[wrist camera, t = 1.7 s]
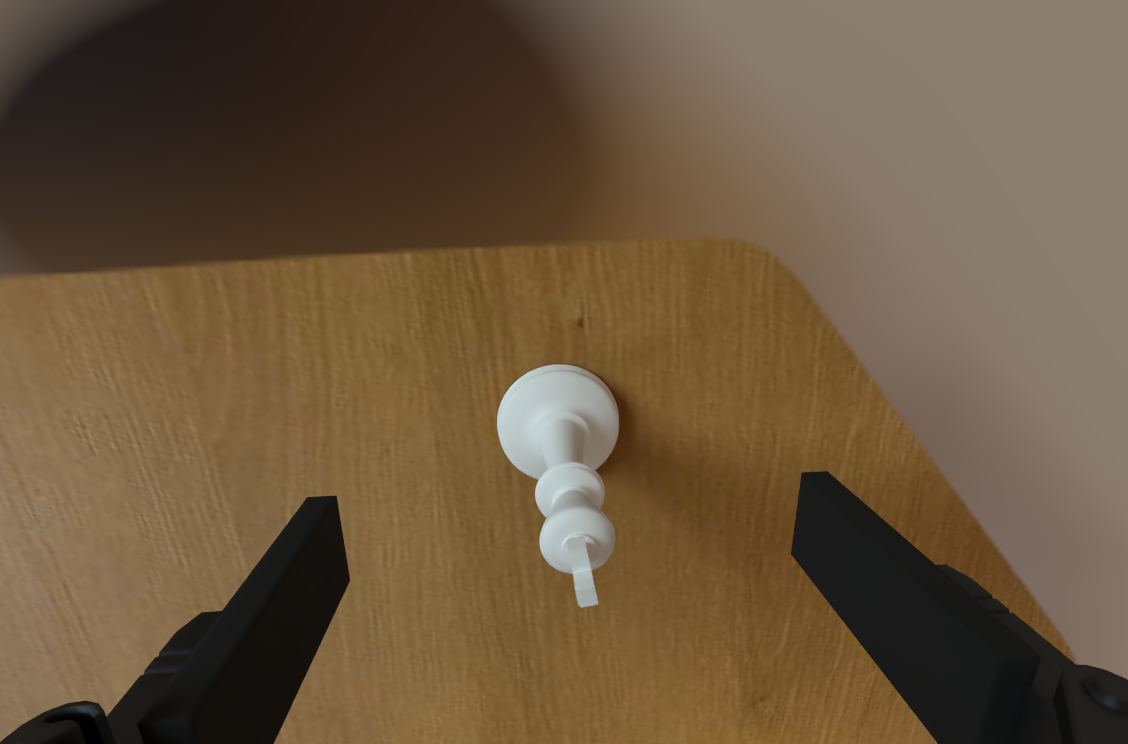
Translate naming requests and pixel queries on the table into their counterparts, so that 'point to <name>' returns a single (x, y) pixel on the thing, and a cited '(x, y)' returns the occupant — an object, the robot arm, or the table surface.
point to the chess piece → (564, 463)
